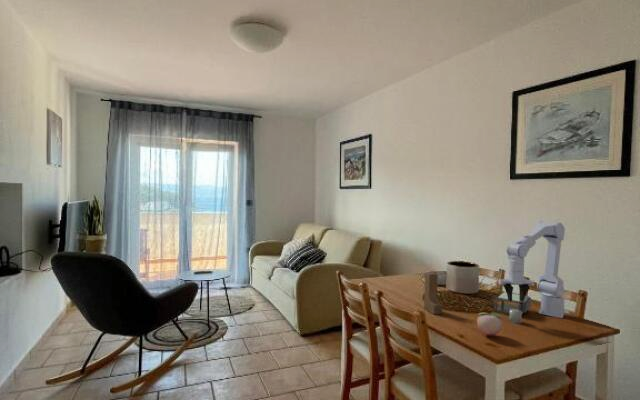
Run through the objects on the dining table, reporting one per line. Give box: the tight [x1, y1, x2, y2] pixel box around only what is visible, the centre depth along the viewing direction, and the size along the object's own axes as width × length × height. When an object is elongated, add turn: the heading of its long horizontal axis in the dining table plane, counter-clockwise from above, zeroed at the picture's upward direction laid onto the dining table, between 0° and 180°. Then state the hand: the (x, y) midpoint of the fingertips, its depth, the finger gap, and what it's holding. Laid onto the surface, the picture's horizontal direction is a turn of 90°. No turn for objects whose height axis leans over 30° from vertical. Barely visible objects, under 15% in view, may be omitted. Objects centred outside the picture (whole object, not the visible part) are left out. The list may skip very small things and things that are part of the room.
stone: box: [508, 309, 523, 325], centre depth 158 cm, size 5×5×5 cm
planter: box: [445, 260, 480, 295], centre depth 207 cm, size 18×18×16 cm
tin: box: [430, 270, 447, 286], centre depth 219 cm, size 15×3×8 cm, turn 84°
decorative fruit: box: [476, 310, 504, 337], centre depth 141 cm, size 9×8×10 cm
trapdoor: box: [497, 291, 532, 313], centre depth 171 cm, size 12×12×5 cm
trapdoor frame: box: [493, 290, 528, 316], centre depth 172 cm, size 11×15×7 cm
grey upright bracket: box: [423, 271, 443, 315], centre depth 170 cm, size 9×4×18 cm, turn 14°
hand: (515, 300), depth 158 cm, fingers open, 4 cm apart
